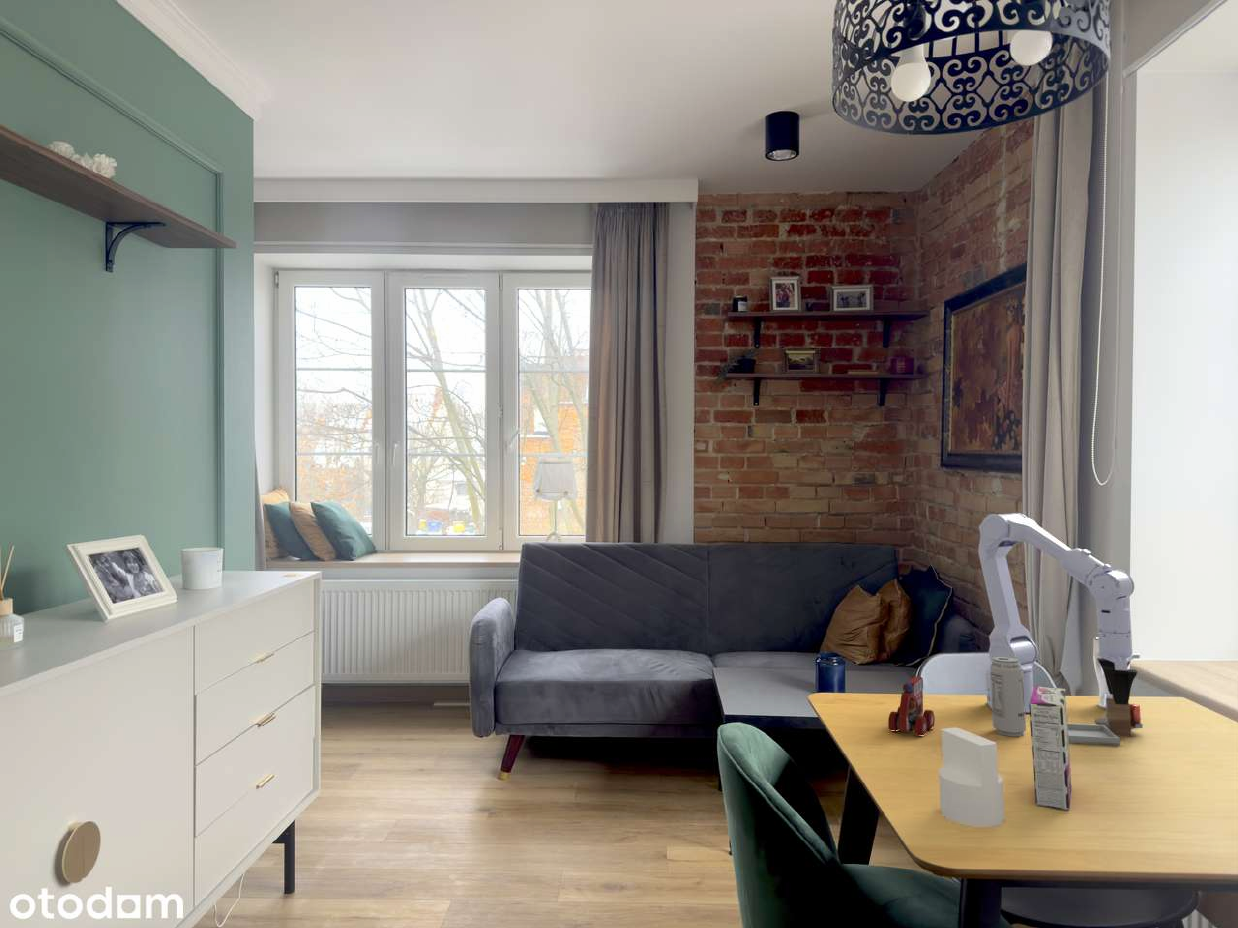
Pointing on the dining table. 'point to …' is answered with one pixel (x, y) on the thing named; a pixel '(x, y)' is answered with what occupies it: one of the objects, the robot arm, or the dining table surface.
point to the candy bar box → (1050, 747)
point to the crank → (1134, 716)
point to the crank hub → (1103, 721)
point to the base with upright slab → (970, 780)
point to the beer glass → (1101, 676)
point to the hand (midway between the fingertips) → (1118, 698)
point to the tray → (1091, 734)
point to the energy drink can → (1008, 696)
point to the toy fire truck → (912, 710)
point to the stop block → (1118, 718)
